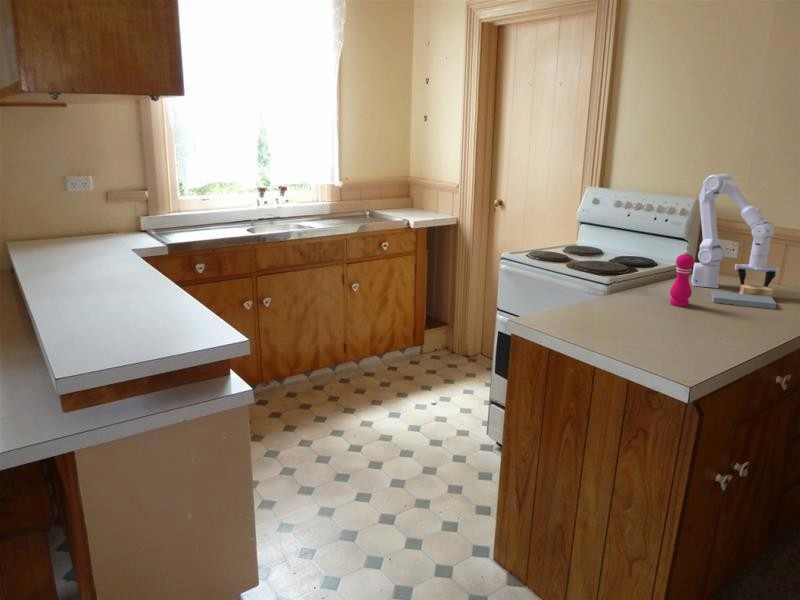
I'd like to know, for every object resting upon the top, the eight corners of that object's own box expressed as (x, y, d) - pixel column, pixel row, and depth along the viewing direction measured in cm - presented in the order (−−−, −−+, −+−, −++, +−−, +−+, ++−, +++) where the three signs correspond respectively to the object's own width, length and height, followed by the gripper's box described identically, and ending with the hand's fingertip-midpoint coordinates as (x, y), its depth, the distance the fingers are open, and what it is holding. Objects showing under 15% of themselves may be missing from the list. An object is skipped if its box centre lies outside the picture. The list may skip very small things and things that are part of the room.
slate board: (713, 302, 230) (714, 297, 229) (710, 295, 239) (711, 290, 238) (775, 309, 223) (776, 303, 223) (770, 301, 232) (771, 296, 232)
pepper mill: (668, 305, 226) (675, 251, 220) (668, 300, 232) (675, 247, 226) (690, 308, 223) (698, 253, 217) (689, 302, 229) (697, 249, 224)
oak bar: (742, 299, 235) (744, 288, 234) (738, 296, 240) (740, 284, 239) (771, 301, 233) (774, 290, 232) (767, 298, 238) (770, 286, 236)
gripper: (739, 255, 235) (733, 290, 239) (783, 258, 230) (776, 294, 234) (736, 251, 241) (730, 285, 245) (779, 254, 236) (773, 289, 240)
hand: (753, 289), depth 240 cm, fingers open, 7 cm apart
